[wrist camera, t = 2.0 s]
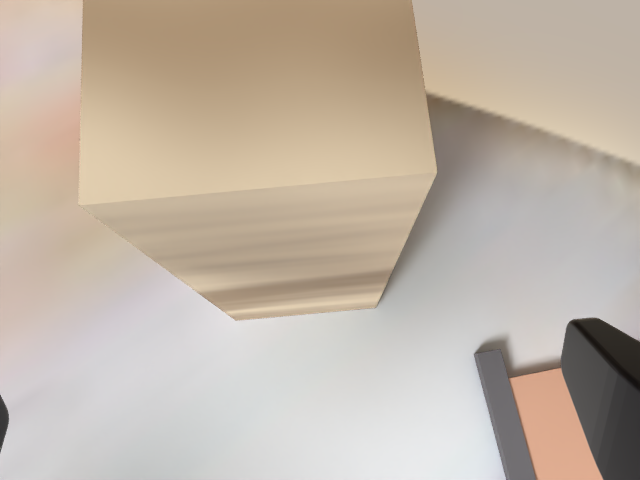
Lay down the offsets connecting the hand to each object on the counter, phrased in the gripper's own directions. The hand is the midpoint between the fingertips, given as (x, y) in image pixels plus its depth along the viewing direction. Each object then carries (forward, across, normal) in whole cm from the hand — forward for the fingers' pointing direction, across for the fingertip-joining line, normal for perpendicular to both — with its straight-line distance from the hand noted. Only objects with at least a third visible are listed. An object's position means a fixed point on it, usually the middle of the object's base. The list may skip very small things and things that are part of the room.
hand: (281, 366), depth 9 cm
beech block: (+11, 0, +5) cm, 12 cm away
